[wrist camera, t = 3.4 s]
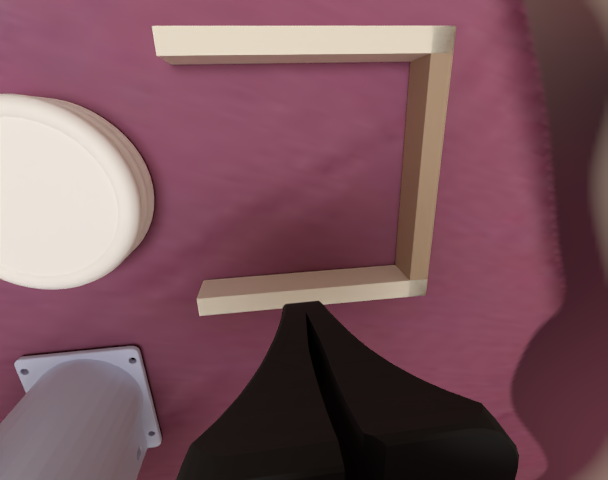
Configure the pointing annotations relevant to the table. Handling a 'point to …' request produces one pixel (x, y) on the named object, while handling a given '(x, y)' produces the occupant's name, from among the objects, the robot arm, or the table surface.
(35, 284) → the coaster
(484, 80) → the table surface
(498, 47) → the table surface
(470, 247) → the table surface
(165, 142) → the table surface
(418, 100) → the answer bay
